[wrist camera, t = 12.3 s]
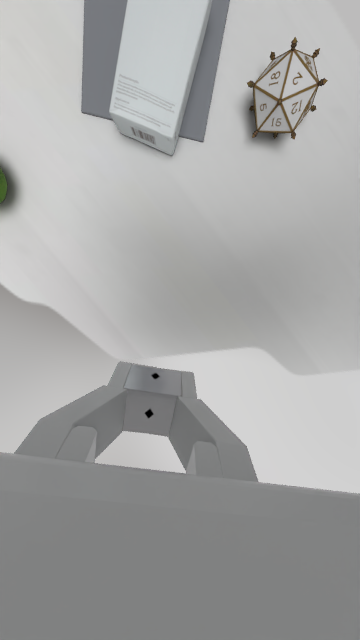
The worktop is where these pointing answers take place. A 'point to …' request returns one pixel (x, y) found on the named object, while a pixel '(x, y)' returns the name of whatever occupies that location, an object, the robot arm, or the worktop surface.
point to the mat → (102, 55)
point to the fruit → (2, 186)
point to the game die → (285, 92)
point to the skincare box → (157, 68)
